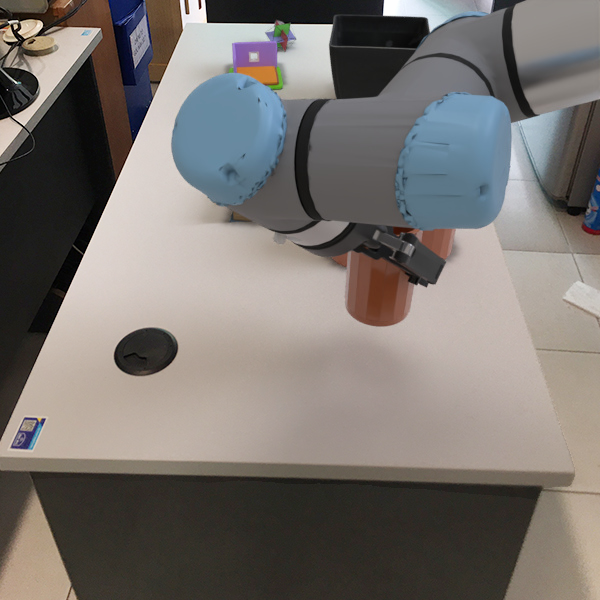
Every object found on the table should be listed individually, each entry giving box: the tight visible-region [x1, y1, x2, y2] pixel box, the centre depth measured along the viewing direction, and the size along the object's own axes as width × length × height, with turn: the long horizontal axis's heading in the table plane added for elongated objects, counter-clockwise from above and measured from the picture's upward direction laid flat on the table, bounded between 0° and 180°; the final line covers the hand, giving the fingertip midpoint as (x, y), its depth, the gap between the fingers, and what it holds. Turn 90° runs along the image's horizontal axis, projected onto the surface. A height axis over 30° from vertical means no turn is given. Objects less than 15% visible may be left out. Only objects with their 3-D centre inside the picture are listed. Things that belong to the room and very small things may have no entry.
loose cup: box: [344, 226, 423, 328], centre depth 67 cm, size 7×7×12 cm
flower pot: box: [328, 14, 431, 99], centre depth 126 cm, size 19×19×17 cm
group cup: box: [421, 229, 457, 260], centre depth 92 cm, size 7×7×12 cm
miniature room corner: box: [228, 40, 284, 90], centre depth 142 cm, size 12×12×7 cm
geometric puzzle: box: [264, 19, 297, 53], centre depth 156 cm, size 7×7×8 cm
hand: (396, 261), depth 71 cm, fingers closed on loose cup, 7 cm apart
